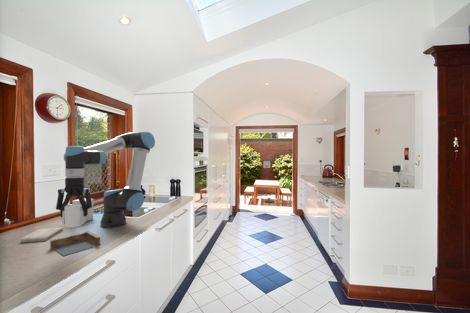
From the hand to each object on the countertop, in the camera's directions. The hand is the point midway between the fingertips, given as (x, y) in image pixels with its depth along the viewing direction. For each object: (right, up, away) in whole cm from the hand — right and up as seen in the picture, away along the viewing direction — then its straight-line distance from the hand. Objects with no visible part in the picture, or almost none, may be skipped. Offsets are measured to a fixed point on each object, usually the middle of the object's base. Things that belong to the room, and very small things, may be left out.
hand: (74, 223), depth 105 cm
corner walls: (-1, -13, +2) cm, 13 cm away
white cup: (0, -1, 0) cm, 1 cm away
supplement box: (-28, -13, +45) cm, 55 cm away
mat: (0, -13, 0) cm, 13 cm away
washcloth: (-29, -13, +16) cm, 36 cm away
